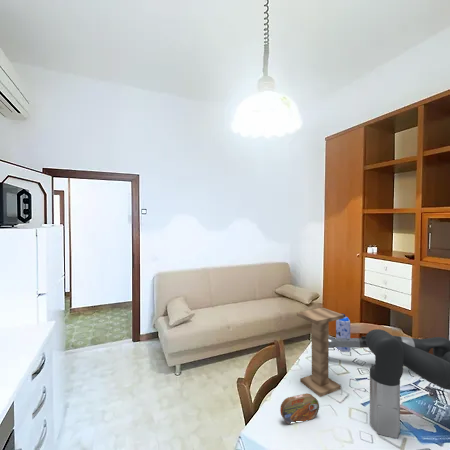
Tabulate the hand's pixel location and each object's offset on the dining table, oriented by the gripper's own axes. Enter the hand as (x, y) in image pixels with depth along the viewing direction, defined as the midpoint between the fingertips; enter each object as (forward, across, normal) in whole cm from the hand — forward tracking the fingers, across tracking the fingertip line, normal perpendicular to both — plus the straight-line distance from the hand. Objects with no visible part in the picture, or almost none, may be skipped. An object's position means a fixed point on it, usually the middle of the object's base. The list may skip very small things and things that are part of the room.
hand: (362, 340), depth 135 cm
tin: (+28, -47, -13) cm, 57 cm away
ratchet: (+6, 0, -3) cm, 7 cm away
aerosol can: (+7, +18, -13) cm, 24 cm away
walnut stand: (+21, -23, -13) cm, 34 cm away
